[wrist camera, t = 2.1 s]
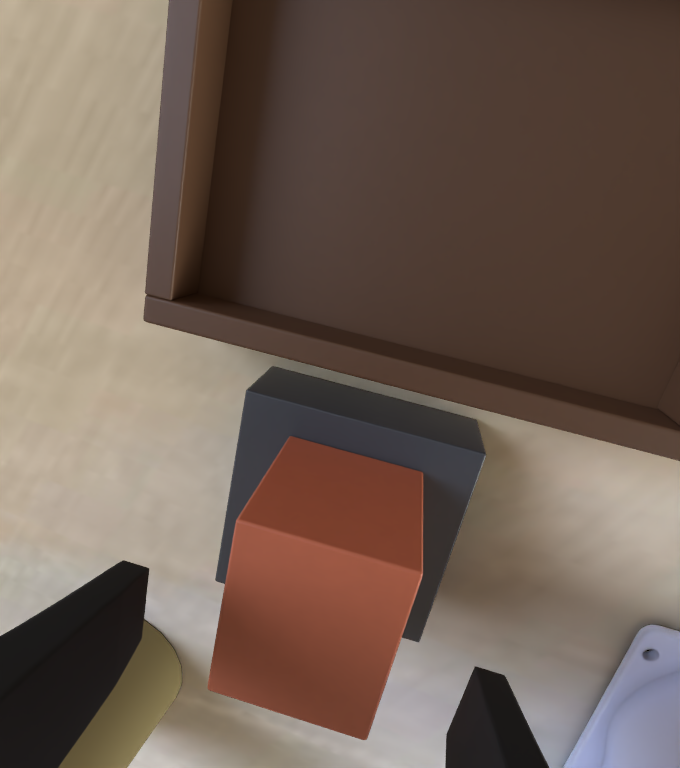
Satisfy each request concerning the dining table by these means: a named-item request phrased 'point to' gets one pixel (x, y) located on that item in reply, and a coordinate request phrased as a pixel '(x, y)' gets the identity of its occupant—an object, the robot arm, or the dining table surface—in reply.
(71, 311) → the dining table surface
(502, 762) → the robot arm
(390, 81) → the tray
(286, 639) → the terracotta block
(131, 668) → the olive pawn
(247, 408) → the base block
